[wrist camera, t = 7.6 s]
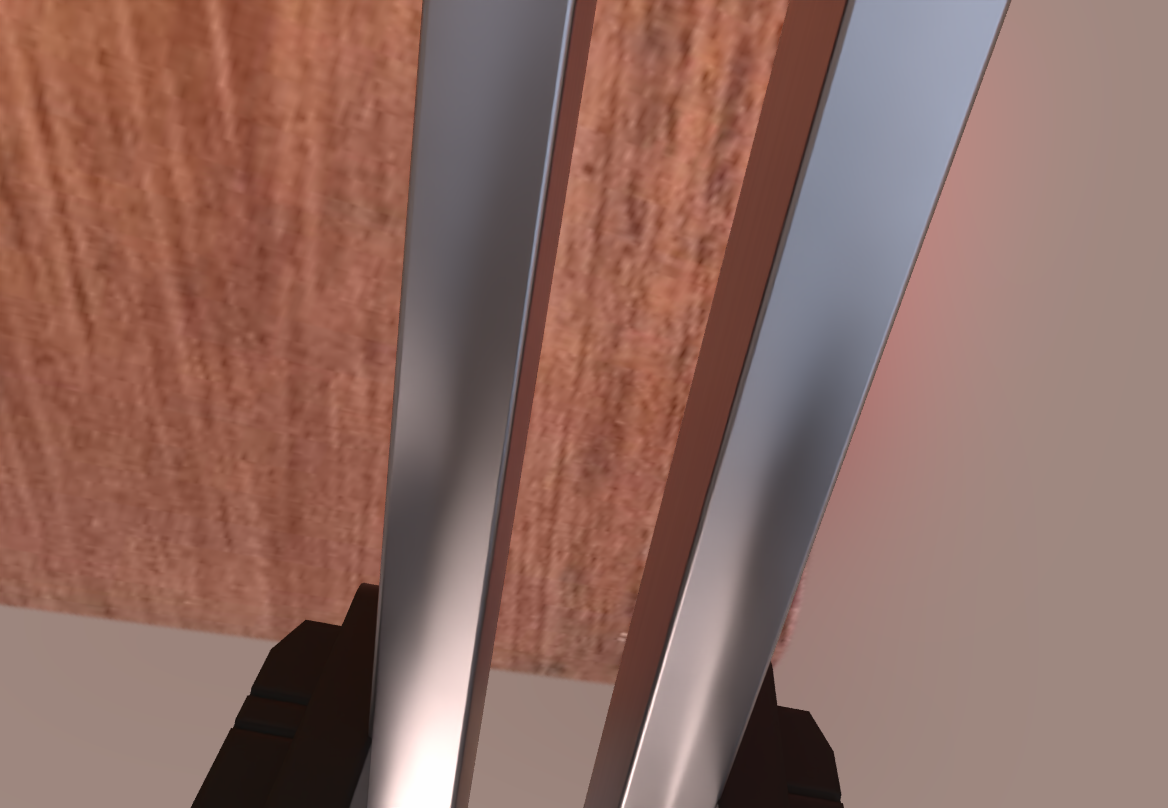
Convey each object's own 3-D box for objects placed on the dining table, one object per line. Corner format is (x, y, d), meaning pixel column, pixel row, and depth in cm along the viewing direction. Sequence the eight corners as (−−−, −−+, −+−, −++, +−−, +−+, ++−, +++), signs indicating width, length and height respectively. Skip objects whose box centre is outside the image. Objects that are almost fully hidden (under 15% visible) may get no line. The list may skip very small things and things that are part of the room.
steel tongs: (466, -467, 6) (364, -627, 4) (1084, -346, 6) (1282, -443, 4) (346, 1071, 17) (299, 1245, 14) (584, 1113, 17) (572, 1292, 15)
